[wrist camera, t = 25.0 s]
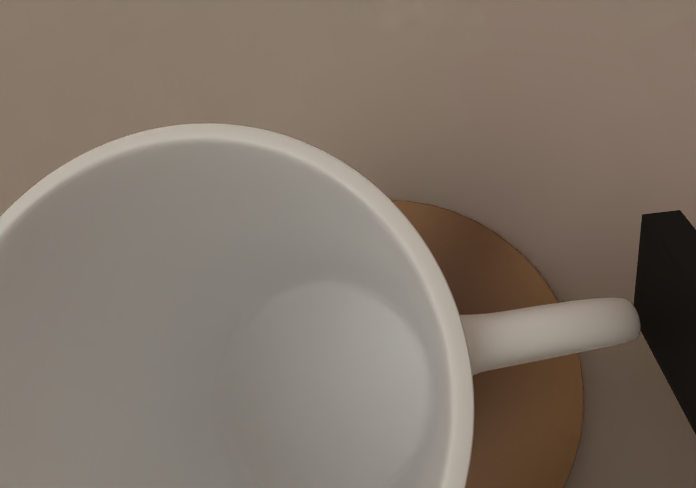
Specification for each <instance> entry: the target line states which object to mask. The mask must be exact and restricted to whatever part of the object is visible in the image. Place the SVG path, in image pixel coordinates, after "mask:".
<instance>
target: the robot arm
mask: <svg viewBox="0 0 696 488" xmlns="http://www.w3.org/2000/svg"><path fill="white" fill-rule="evenodd" d="M634 307H635V309H636V311H637V313H638V316H639V320H640V326H641V329H640V330H641V332H642V334H643V336H644V338H645V340H646V342H647V343H648V345H649V347H650V349H651V351H652V353H653V355H654V357H655V359H656V360H657V362H658V364H659V366H660V368H661V370H662V372H663V374H664V376H665V377H666V379H667V381H668V383H669V385H670V387H671V389H672V391H673V393H674V394H675V396H676V398H677V400H678V402H679V404H680V406H681V408H682V410H683V411H684V413H685V415H686V417H687V419H688V421H689V423H690V425H691V427H692V429H693V430H694V432H695V434H696V230H695V228H694V227H693V226H692V225H691V223H690V222H689V221H688V220H687V218H686V217H685V216H684V215H683V213H682V212H681V211H680V210H678V211H669V212H660V213H652V214H643V215H642V222H641V233H640V244H639V254H638V265H637V276H636V286H635V297H634Z"/></svg>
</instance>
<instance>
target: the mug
mask: <svg viewBox="0 0 696 488" xmlns="http://www.w3.org/2000/svg"><path fill="white" fill-rule="evenodd" d="M640 329H641V326H640V320H639V316H638V313H637V311H636V309H635V307H634V306H633V305H632V304H631V303H630V302H629V301H628V300H626V299H622V298H596V299H585V300H576V301H568V302H560V303H553V304H546V305H540V306H533V307H527V308H521V309H515V310H508V311H502V312H495V313H487V314H474V315H459V311H458V308H457V306H456V303H455V300H454V298H453V295H452V293H451V290H450V288H449V286H448V283H447V281H446V279H445V277H444V275H443V273H442V271H441V269H440V267H439V265H438V263H437V261H436V260H435V258H434V256H433V254H432V253H431V251H430V249H429V248H428V246H427V245H426V243H425V242H424V240H423V239H422V237H421V236H420V234H419V233H418V232H417V230H416V229H415V228H414V226H413V225H412V224H411V222H410V221H409V220H408V219H407V218H406V216H405V215H404V214H403V213H402V212H401V211H400V210H399V208H398V207H397V206H396V205H395V204H394V203H393V202H392V201H391V200H390V199H389V198H388V197H387V196H386V195H385V194H384V193H383V192H382V191H380V190H379V189H378V188H377V187H376V186H375V185H374V184H372V183H371V182H370V181H369V180H368V179H366V178H365V177H364V176H362V175H361V174H360V173H358V172H357V171H356V170H354V169H353V168H351V167H350V166H348V165H347V164H345V163H344V162H342V161H340V160H339V159H337V158H335V157H334V156H332V155H330V154H328V153H326V152H324V151H322V150H320V149H318V148H316V147H314V146H312V145H309V144H307V143H305V142H302V141H300V140H297V139H294V138H292V137H289V136H286V135H282V134H279V133H276V132H272V131H268V130H263V129H259V128H254V127H248V126H241V125H232V124H216V123H199V124H183V125H174V126H167V127H161V128H156V129H151V130H147V131H143V132H139V133H135V134H132V135H128V136H125V137H122V138H119V139H116V140H114V141H111V142H108V143H106V144H103V145H101V146H99V147H97V148H94V149H92V150H90V151H88V152H86V153H84V154H82V155H80V156H78V157H76V158H75V159H73V160H71V161H69V162H68V163H66V164H64V165H63V166H61V167H60V168H58V169H56V170H55V171H53V172H52V173H50V174H49V175H48V176H46V177H45V178H43V179H42V180H41V181H39V182H38V183H37V184H36V185H34V186H33V187H32V188H31V189H29V190H28V191H27V192H26V193H25V194H23V195H22V196H21V197H20V198H19V199H18V200H17V201H16V202H15V203H14V204H12V205H11V206H10V207H9V208H8V209H7V210H6V211H5V212H4V214H3V215H2V216H1V217H0V488H465V486H466V482H467V477H468V472H469V467H470V461H471V454H472V446H473V435H474V386H473V375H475V374H478V373H480V372H484V371H489V370H494V369H499V368H504V367H509V366H514V365H519V364H524V363H529V362H534V361H539V360H544V359H550V358H555V357H560V356H565V355H570V354H575V353H580V352H584V351H589V350H594V349H599V348H604V347H609V346H613V345H618V344H623V343H627V342H631V341H634V340H636V339H637V338H638V336H639V334H640Z"/></svg>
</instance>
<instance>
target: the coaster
mask: <svg viewBox="0 0 696 488" xmlns="http://www.w3.org/2000/svg"><path fill="white" fill-rule="evenodd" d="M392 202H393V203H394V204H395V205H396V206H397V207H398V208H399V210H400V211H401V212H402V213H403V214H404V215H405V216H406V218H407V219H408V220H409V221H410V222H411V224H412V225H413V226H414V228H415V229H416V230H417V232H418V233H419V234H420V236H421V237H422V239H423V240H424V242H425V243H426V245H427V246H428V248H429V249H430V251H431V253H432V254H433V256H434V258H435V260H436V261H437V263H438V265H439V267H440V269H441V271H442V273H443V275H444V277H445V279H446V281H447V283H448V286H449V288H450V290H451V293H452V295H453V298H454V300H455V303H456V306H457V308H458V311H459V315H474V314H487V313H495V312H502V311H508V310H515V309H521V308H527V307H533V306H540V305H546V304H553V303H558V301H557V299H556V297H555V296H554V294H553V292H552V290H551V289H550V287H549V286H548V285H547V283H546V282H545V281H544V279H543V278H542V277H541V275H540V274H539V273H538V271H537V270H536V269H535V268H534V266H533V265H532V264H531V263H530V262H529V261H528V260H527V259H526V258H525V257H524V256H523V255H522V254H521V253H520V252H519V251H518V250H517V249H516V248H514V247H513V246H512V245H510V244H509V243H508V242H507V241H505V240H504V239H503V238H502V237H500V236H499V235H498V234H496V233H495V232H493V231H491V230H490V229H488V228H486V227H485V226H483V225H481V224H480V223H478V222H476V221H474V220H472V219H469V218H467V217H465V216H463V215H460V214H458V213H456V212H453V211H450V210H446V209H443V208H440V207H436V206H433V205H428V204H422V203H416V202H410V201H392ZM473 386H474V435H473V446H472V454H471V461H470V467H469V472H468V477H467V482H466V486H465V488H564V485H565V483H566V481H567V478H568V476H569V474H570V471H571V469H572V467H573V463H574V460H575V456H576V452H577V449H578V445H579V442H580V435H581V428H582V421H583V380H582V372H581V365H580V359H579V355H578V353H575V354H570V355H565V356H560V357H555V358H550V359H544V360H539V361H534V362H529V363H524V364H519V365H514V366H509V367H504V368H499V369H494V370H489V371H484V372H480V373H478V374H475V375H473Z"/></svg>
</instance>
